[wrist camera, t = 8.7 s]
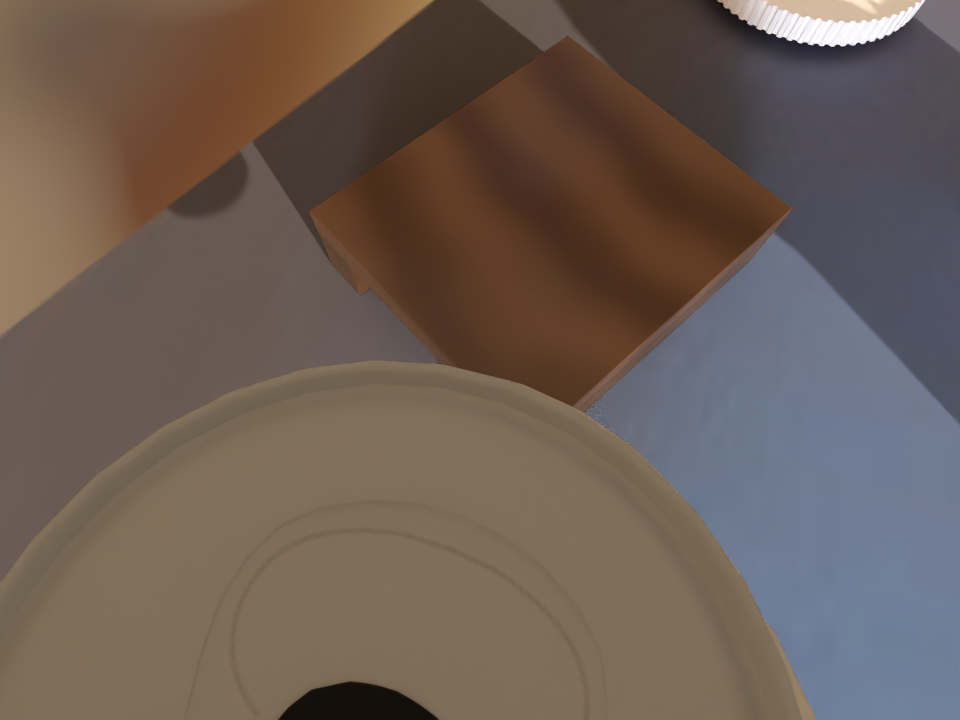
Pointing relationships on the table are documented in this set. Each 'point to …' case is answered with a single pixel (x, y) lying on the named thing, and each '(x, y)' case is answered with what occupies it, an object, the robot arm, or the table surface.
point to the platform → (549, 228)
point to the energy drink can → (383, 569)
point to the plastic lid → (826, 18)
